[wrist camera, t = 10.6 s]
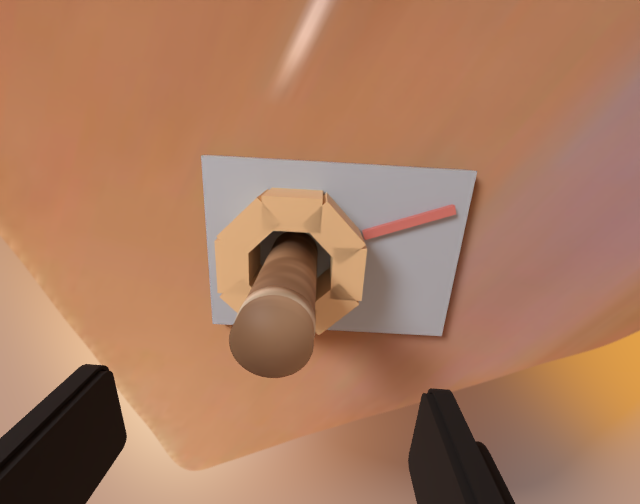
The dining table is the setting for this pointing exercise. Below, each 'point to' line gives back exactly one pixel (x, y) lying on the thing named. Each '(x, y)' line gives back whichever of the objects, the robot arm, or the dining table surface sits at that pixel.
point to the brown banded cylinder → (279, 310)
